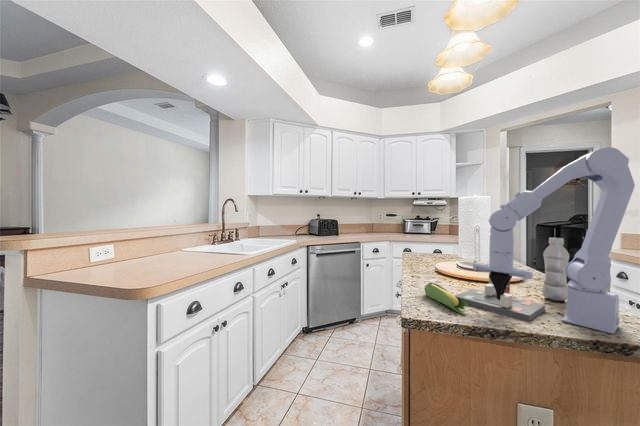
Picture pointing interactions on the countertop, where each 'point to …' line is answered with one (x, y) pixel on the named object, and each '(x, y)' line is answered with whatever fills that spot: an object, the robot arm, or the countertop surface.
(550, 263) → the plastic bottle
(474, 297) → the breaker panel
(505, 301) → the block
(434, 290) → the edible corn
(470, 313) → the countertop surface
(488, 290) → the block
